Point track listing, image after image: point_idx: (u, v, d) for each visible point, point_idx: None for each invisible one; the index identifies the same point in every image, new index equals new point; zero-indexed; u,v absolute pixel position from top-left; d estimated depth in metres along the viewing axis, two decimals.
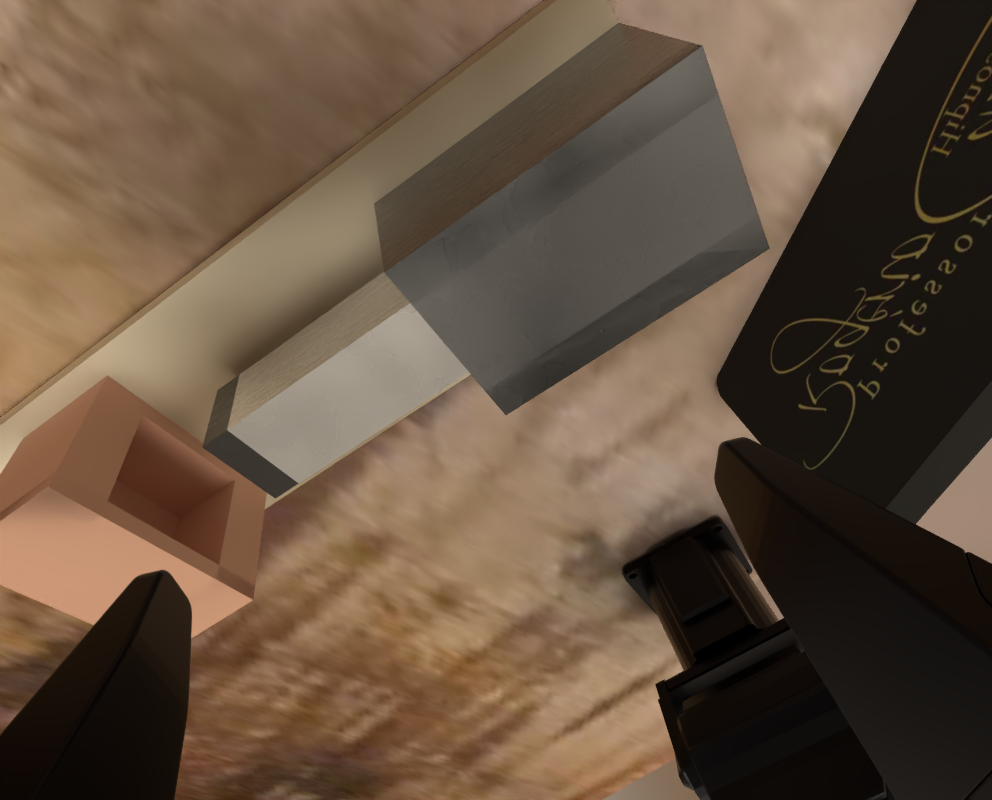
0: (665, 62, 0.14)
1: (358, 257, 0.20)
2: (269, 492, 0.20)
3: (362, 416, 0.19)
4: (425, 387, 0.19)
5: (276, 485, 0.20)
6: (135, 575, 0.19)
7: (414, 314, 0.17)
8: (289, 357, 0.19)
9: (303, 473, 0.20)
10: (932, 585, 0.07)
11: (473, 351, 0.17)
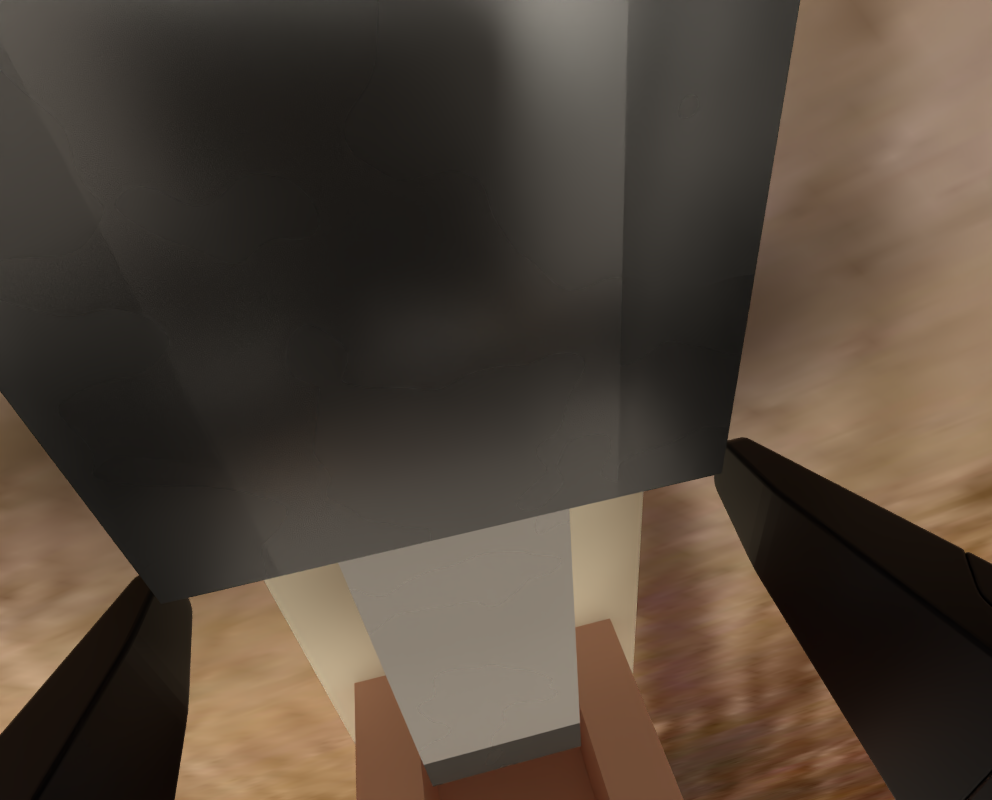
0: None
1: None
2: (566, 745, 0.12)
3: (526, 636, 0.09)
4: (543, 542, 0.08)
5: (560, 741, 0.12)
6: None
7: None
8: None
9: (567, 715, 0.11)
10: (932, 585, 0.07)
11: (486, 494, 0.06)
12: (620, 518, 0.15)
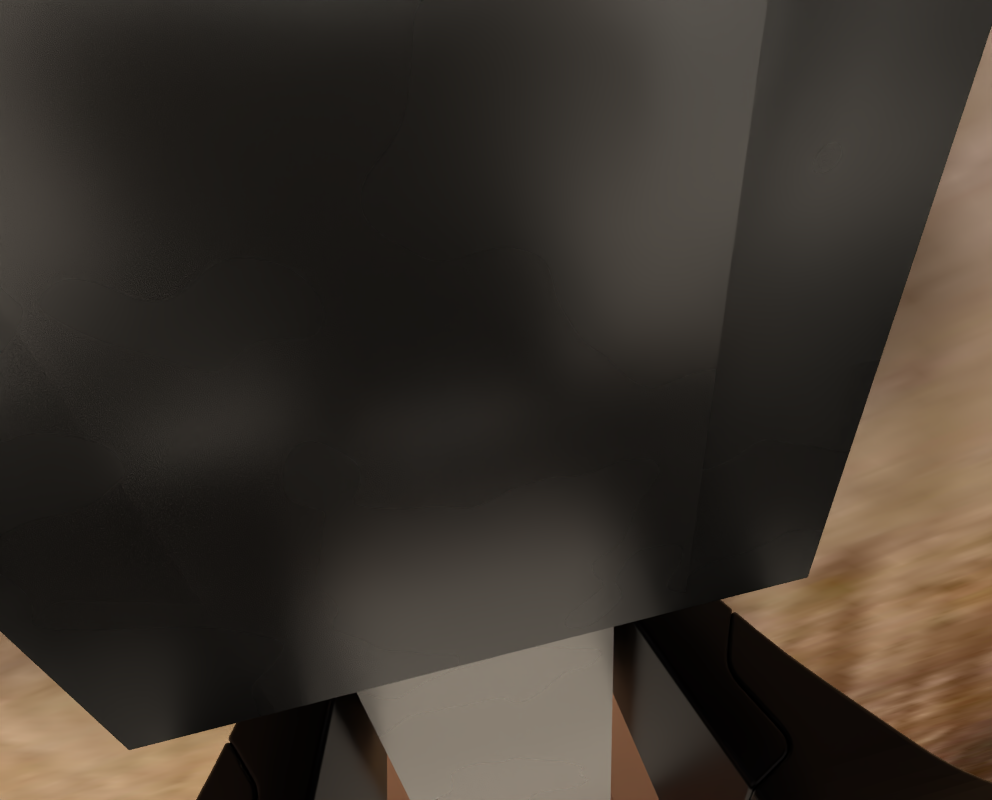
0: None
1: None
2: None
3: (557, 728, 0.08)
4: (582, 635, 0.07)
5: None
6: None
7: None
8: None
9: None
10: (690, 648, 0.07)
11: (528, 614, 0.05)
12: None
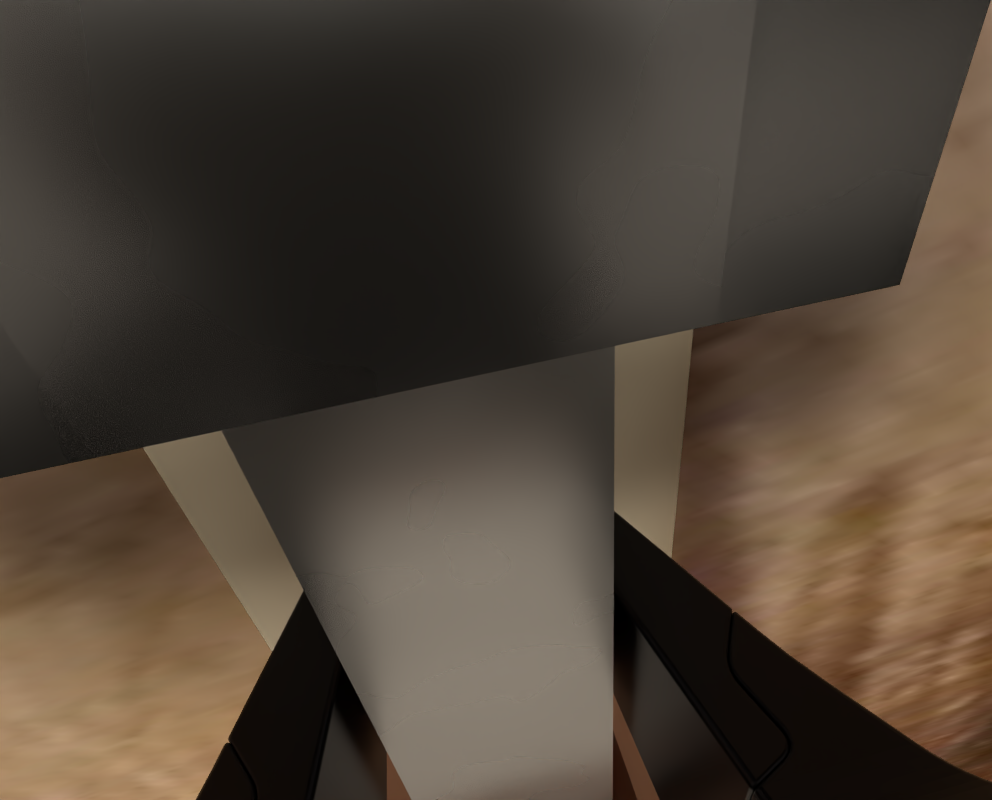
0: None
1: None
2: None
3: (558, 727, 0.08)
4: (581, 634, 0.07)
5: None
6: None
7: (361, 621, 0.06)
8: None
9: (599, 798, 0.10)
10: (691, 649, 0.07)
11: (479, 297, 0.03)
12: (653, 470, 0.12)
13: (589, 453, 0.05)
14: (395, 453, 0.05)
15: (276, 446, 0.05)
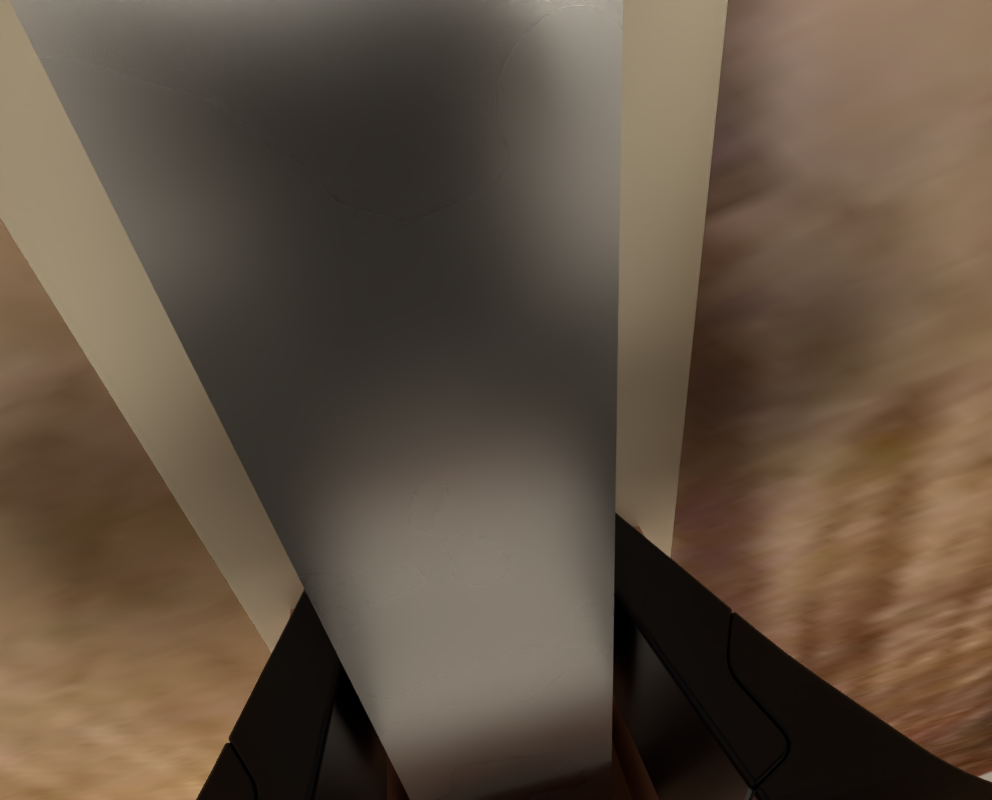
0: None
1: None
2: None
3: (558, 728, 0.08)
4: (582, 634, 0.07)
5: None
6: None
7: (362, 621, 0.06)
8: None
9: (597, 799, 0.10)
10: (690, 648, 0.07)
11: None
12: (660, 359, 0.10)
13: (591, 455, 0.05)
14: (397, 454, 0.05)
15: (280, 447, 0.05)
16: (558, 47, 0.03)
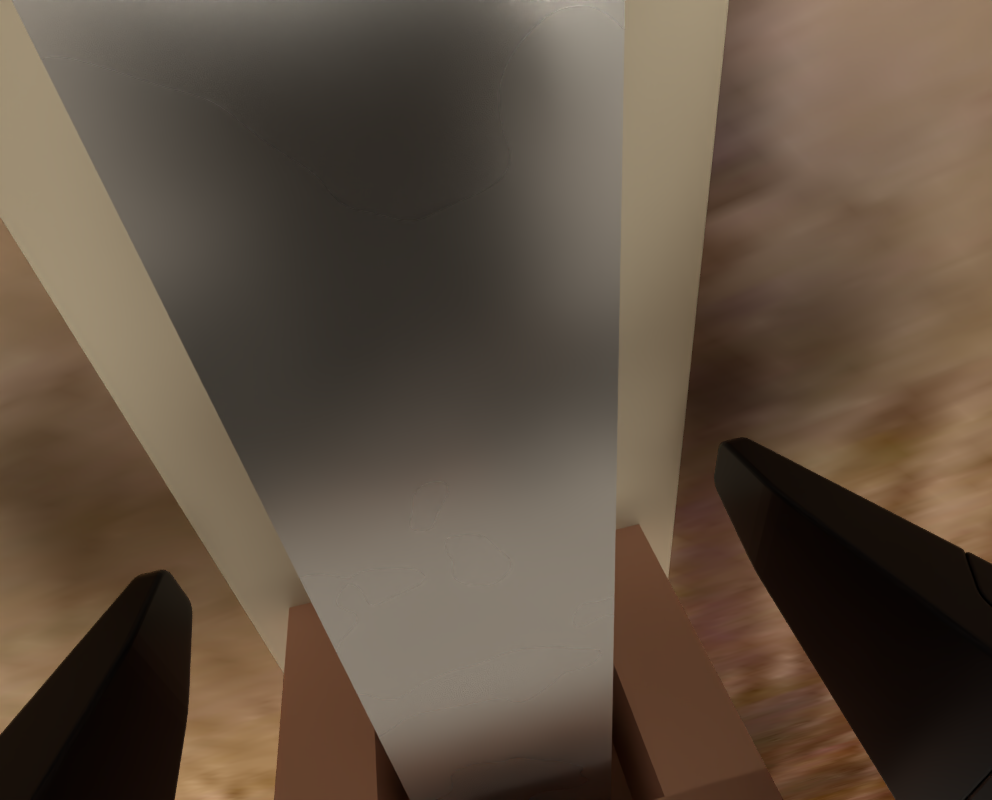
0: None
1: None
2: None
3: (557, 728, 0.08)
4: (582, 635, 0.07)
5: None
6: None
7: (362, 620, 0.06)
8: None
9: None
10: (932, 585, 0.07)
11: None
12: (661, 356, 0.10)
13: (592, 455, 0.05)
14: (399, 454, 0.05)
15: (280, 447, 0.05)
16: (560, 48, 0.03)
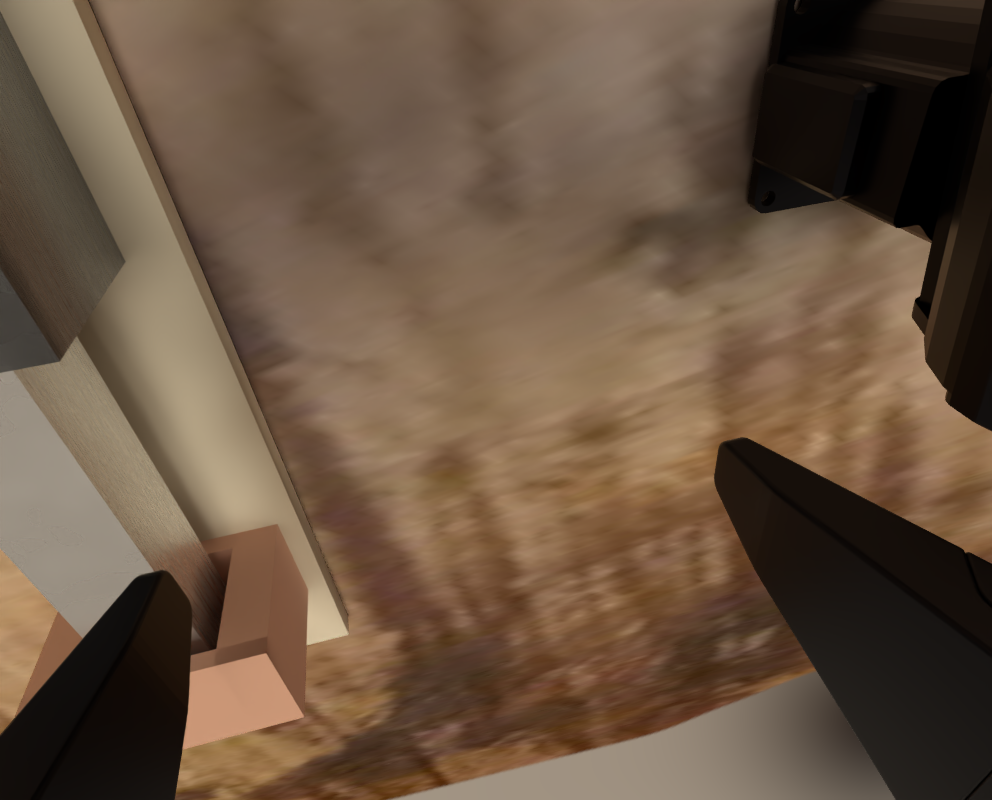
0: None
1: None
2: None
3: None
4: (135, 568, 0.17)
5: None
6: None
7: (27, 558, 0.16)
8: None
9: None
10: (932, 585, 0.07)
11: None
12: (245, 440, 0.21)
13: (92, 499, 0.16)
14: (15, 500, 0.15)
15: None
16: (15, 404, 0.14)
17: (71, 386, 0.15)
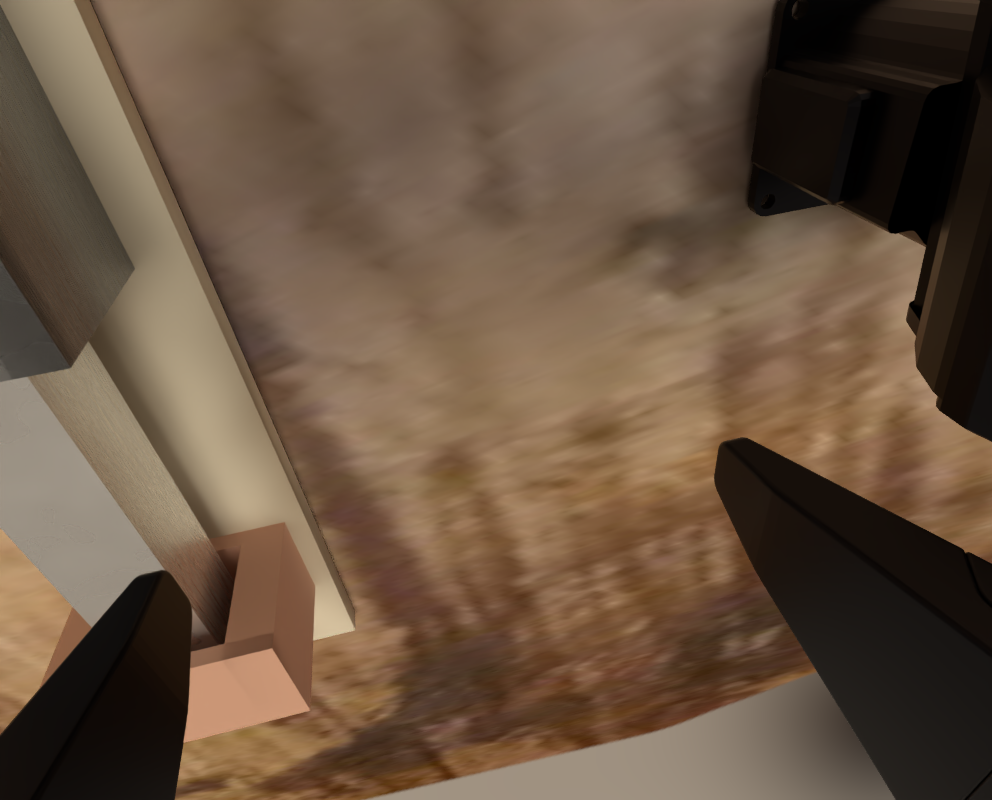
0: None
1: None
2: None
3: None
4: (146, 565, 0.18)
5: None
6: None
7: (43, 556, 0.17)
8: None
9: None
10: (931, 585, 0.07)
11: None
12: (252, 440, 0.21)
13: (104, 499, 0.16)
14: (30, 500, 0.16)
15: None
16: (30, 408, 0.14)
17: (83, 390, 0.16)
